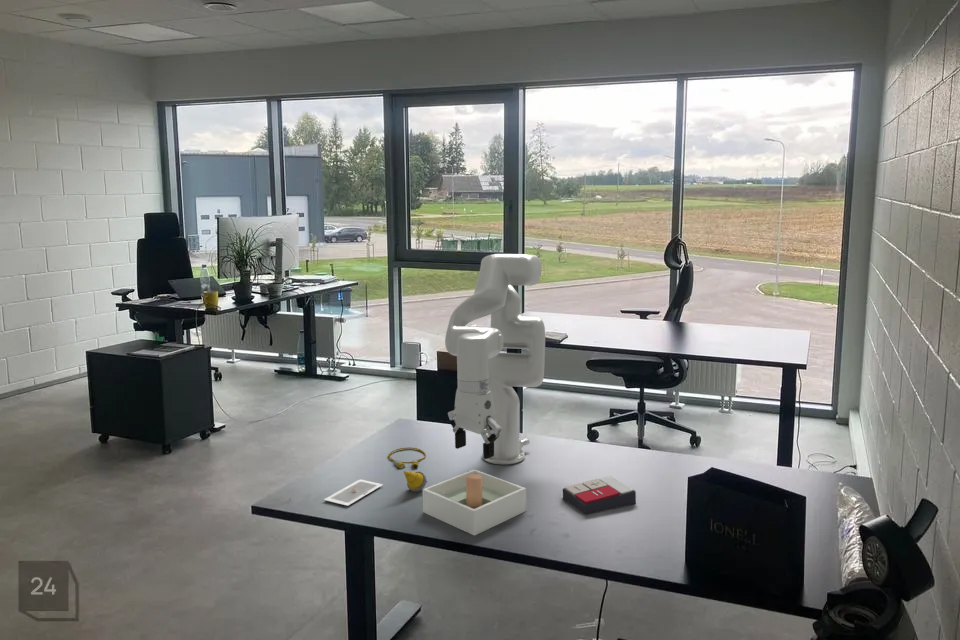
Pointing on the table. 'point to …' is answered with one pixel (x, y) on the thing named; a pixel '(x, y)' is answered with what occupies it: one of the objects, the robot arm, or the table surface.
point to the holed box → (497, 507)
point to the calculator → (599, 495)
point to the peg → (474, 491)
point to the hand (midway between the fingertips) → (474, 452)
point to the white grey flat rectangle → (353, 492)
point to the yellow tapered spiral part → (415, 480)
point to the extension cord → (401, 465)
